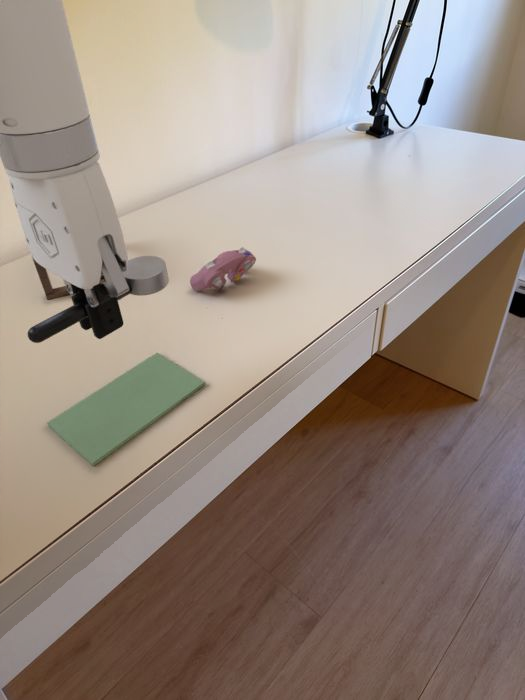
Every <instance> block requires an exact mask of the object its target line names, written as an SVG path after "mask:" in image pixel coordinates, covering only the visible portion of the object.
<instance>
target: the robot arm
mask: <svg viewBox="0 0 525 700" xmlns="http://www.w3.org/2000/svg"><path fill="white" fill-rule="evenodd" d="M70 31H71V30H70V27H69V23H68V19H67V16H66V11H65V7H64V3H63V0H0V161H1V163H2V165H3V168H4V171H5V173H6V175H7V177H8V181H9V186H10V190H11V195H12V199H13V201H14V205H15V209H16V213H17V215H18V218H19V222H20V225H21V228H22V231H23V234H24V237H25V241H26V243H27V246H28V250H29V253H30V256H31V258H32V257H33V258H32V260H33V259H34V260H35V261H36V262H37V263H38V264H39V265H41V266H42V267H44V268H46V270H47V271H49V272H51V273H52V274H54V275H55V276H57V277H59V278H61V279H62V280H63V283H64V286H66V289H67V290H68V292H69V293H70V295H71V296H70V298H71V301H72V305H75V304H77V303H79V302H81V301H83V300H85V299H87V301H88V304H87V305H85V308H86V311H87V314H88V317H87V318H85V319H83V320H81V321H79V322H78V323H79V325H80V327H81V329H83V330H84V331H88V330H90V329H92V332H93V336H94V337H95V338H96V339H98V340H101V339H103V338H105V337H107V336H108V335H110V334H112V333H114V332H115V331H118V330H119V329H121V328H122V327H123V326H124V320H123V315H122V312H121V311H122V310H121V308H120V304H119V300H117V297H118V296H120V295H122V294H124V293H126V292H128V291H129V286H128V284H127V282H126V280H125V277H124V275H123V273H122V272H124V271H126V270H127V268H128V260H129V256H128V251H127V246H126V242H125V238H124V233H123V230H122V226H121V223H120V220H119V216H118V213H117V210H116V206H115V203H114V200H113V197H112V194H111V192H110V188H109V186H108V183H107V180H106V177H105V175H104V173H103V170H102V168H101V165H100V163H99V162H98V161H99V159H100V157H101V155H100V150H99V147H98V143H97V139H96V135H95V130H94V126H93V122H92V118H91V115H90V111H89V105H88V101H87V98H86V93H85V89H84V85H83V80H82V76H81V73H80V69H79V64H78V60H77V56H76V52H75V48H74V44H73V39H72V35H71V32H70ZM102 279H104V283H102V284H99V282H100V280H102Z"/></svg>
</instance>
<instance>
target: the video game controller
mask: <svg viewBox="0 0 525 700" xmlns="http://www.w3.org/2000/svg"><path fill="white" fill-rule="evenodd" d="M256 262H257V257H256V256H255V255H254V254H253V253H252V252H251V251H250V250H248V249H245V248H244V247H243V246H242V247H240V248H239V249H237V250H236V249H235V250H234V249H233V250H227V251H223V252H221V253H220V254H218V255H217V256H216V257H215V258H214V259H213V260H211V261H209V262H207V263H206V264H205V265H203V266H202V267H201V268H200V270H199V271H197V272H196V273H195V274H192V276H191V277H190V278H189V279H190V280H189V284H190V287H191V288H192V289H193V290H194V291H196V292H203V291H205V290H207V289H213V290H214V291H219V290H221V289H222V288H224V286H226V284H227V279H228V280H229V281H230V282H231V283H235V282H238V281H239V280H240V279H241V278H242V277H243V275H245V273H246V272H247V271H249V270H250V269H252V267H253V266H254V265H255V264H256ZM225 277H227V279H226V278H225Z"/></svg>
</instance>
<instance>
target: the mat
mask: <svg viewBox="0 0 525 700" xmlns="http://www.w3.org/2000/svg"><path fill="white" fill-rule="evenodd" d="M205 385H206V382H205V381H204V380H202V379H201V378H199V377H197V376H196V375H195V374H192V373H191V372H189V371H188V370H186V369H184V368H183V367H181V366H180V365H178V364H177V363H175V362H173V361H172V360H170V359H169V358H167V357H166V356H164V355H163V354H161V353H159V352H155V353H154V354H153V355H150V356H149V357H147V358H146V359H145V360H143V361H141V362H140V363H139V364H137V365H135V366H133V367H132V368H131V369H129V370H127V371H125V372H124V373H123V374H120V375H119V376H118V377H116V378H115V379H113V380H112V381H110V382H109V383H107V384H105V385H104V386H102V387H101V388H99V389H97V390H95V392H93V393H91V394H89V395H88V396H87V397H85V398H84V399H82V400H80V401H79V402H77V403H75V404H74V405H72V406H71V407H69V408H68V409H65V410H64V411H63V412H61V413H60V414H58V415H57V416H55V417H53V418H51V419H50V420H49V421H47V422H46V424H47V426H48V427H49V428H50V429H51V430H52V431H53V432H54V433H55V434H57V436H59V437H60V438H61V439H62V440H63V441H65V442H66V444H68V445H69V446H70V447H71V448H72V449H73V450H74V451H76V453H78V454H79V455H80V456H81V457H82V458H83V459H84V460H85V461H87V462H88V463H89V464H90V465H91V466H92V467H95V466H96V465H97V464H99V463H100V462H101V461H103V460H105V458H107V457H109V456H110V455H112V453H114V452H116V450H118V449H120V448H121V447H122V446H123V445H125V444H126V443H128V442H129V441H131V440H132V439H134V437H136V436H138V435H139V434H140V433H142V432H143V431H144V430H146V429H147V428H148V427H149V426H151V425H153V424H154V423H155V422H156V421H158V420H159V419H161V418H162V417H164V416H165V415H166V414H167V413H169V412H170V411H172V410H173V409H174V408H176V407H177V406H178V405H180V404H181V403H182V402H184V401H186V399H188V398H190V397H191V396H192V395H193V394H195V393H196V392H198V391H199V390H200V389H202V388H203V387H205Z"/></svg>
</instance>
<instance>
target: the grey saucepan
mask: <svg viewBox="0 0 525 700" xmlns="http://www.w3.org/2000/svg"><path fill="white" fill-rule="evenodd" d="M122 273H123V275H124V277H125V280H126V282H127V284H128V286H129V291H128V292H126V293H124V294H122V295H120V296H118V297H117V300H118V301H120V300H121V299H123V298H125V297H127V296H129V295H132V296H140V297H141V296H142V297H144V296H149V295H153V294H156V293H160V292H161V291H163V290H164V289H165V288H166V287H167V286H168V285H169V281H170V278H169V273H168V268H167V263H166V261H165V259H163V258H161V257H159V256H155V255H142V256H137V257H133V258H130V259H128V268H127V270H126V271H124V272H122ZM87 304H88V301H87V299H85V300H83V301H81V302H79V303H77V304H75V305H74V304H72V306H70V307H67V308H66V309H64V310H62V311H60V312H58V313H56V314H54V315H52V316H50V317H48V318H46V319H45V320H43V321H41V322H38V323H36V324H35V325H33V326H31V327H30V328H29V329H28V331H27V338H28V340H29V341H30V342H32V343H34V344H40V343H42V342H44V341H46V340H48V339H50V338H51V337H53V336H55V335H57V334H59V333H61V332H63V331H65V330H66V329H68V328H70V327H72V326H73V325H76V324H77V323H80V322H79V321H81V320H83V319H85V318H87V317H88V314H87V311H86V308H85V305H87Z"/></svg>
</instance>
